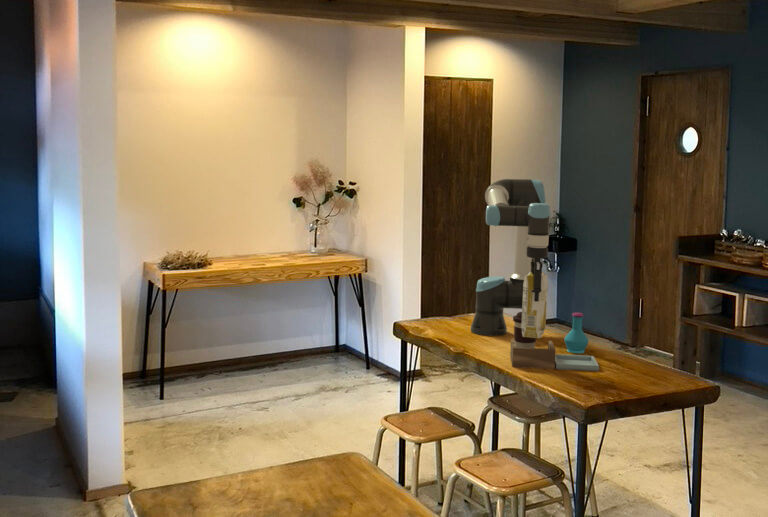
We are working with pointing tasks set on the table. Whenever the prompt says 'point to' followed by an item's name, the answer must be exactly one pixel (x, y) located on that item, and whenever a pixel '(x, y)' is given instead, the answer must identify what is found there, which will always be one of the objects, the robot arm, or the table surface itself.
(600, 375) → the table surface
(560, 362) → the tray
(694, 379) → the table surface
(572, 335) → the perfume bottle
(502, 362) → the table surface
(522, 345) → the coffee cup
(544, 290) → the juice carton
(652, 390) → the table surface
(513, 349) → the bay
